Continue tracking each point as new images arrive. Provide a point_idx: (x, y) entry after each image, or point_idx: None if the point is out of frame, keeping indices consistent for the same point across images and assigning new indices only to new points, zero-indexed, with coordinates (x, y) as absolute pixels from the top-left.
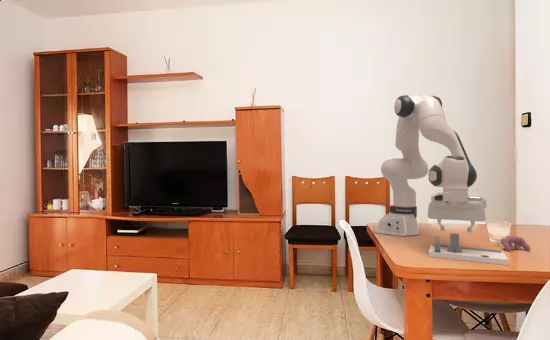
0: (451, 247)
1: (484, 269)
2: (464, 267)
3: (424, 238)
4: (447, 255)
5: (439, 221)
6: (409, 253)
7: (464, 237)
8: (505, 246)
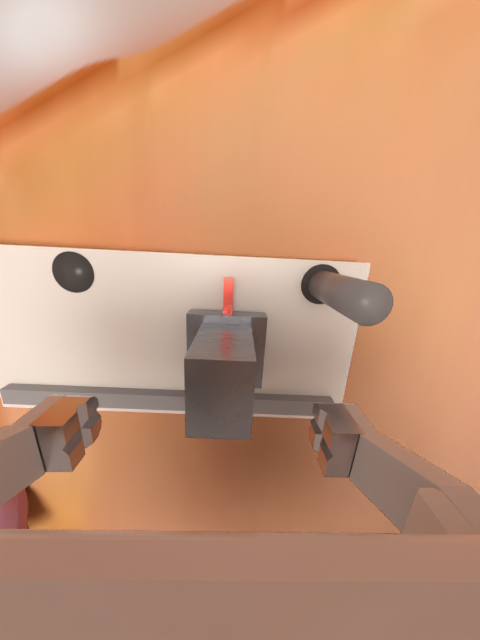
0: (244, 323)
1: (84, 96)
2: (185, 91)
3: None
4: (266, 257)
5: (446, 498)
6: (448, 286)
7: None
8: (13, 506)
